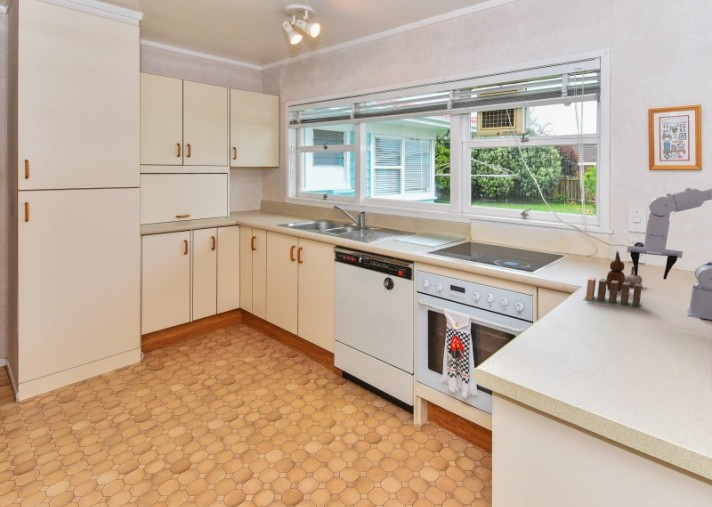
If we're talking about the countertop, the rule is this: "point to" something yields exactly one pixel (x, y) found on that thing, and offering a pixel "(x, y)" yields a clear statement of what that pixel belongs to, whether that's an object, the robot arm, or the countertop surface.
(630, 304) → the mat
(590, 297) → the domino end
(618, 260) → the wooden figurine
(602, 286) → the domino
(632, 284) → the garlic bulb
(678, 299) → the countertop surface
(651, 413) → the countertop surface
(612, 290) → the domino
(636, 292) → the domino
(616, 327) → the countertop surface
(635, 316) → the countertop surface
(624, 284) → the domino
